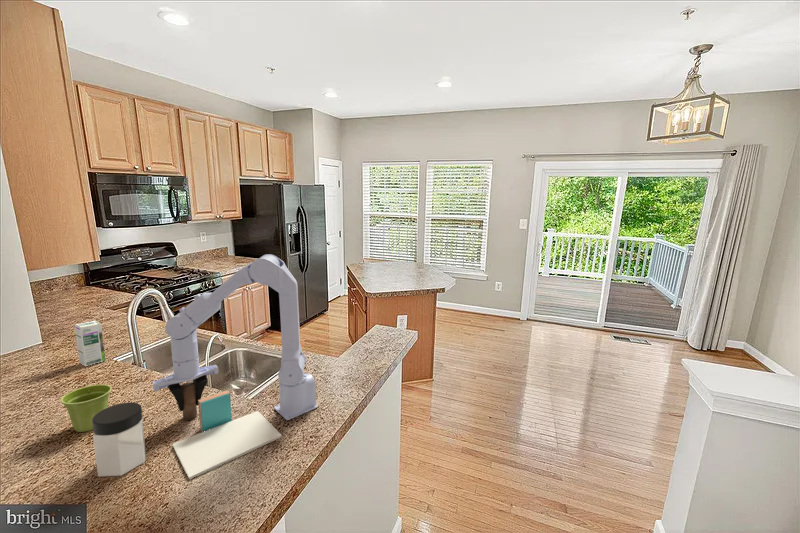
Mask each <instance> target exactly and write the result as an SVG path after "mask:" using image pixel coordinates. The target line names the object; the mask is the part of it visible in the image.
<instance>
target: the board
mask: <svg viewBox="0 0 800 533" xmlns="http://www.w3.org/2000/svg"><path fill="white" fill-rule="evenodd" d="M280 438H282V434H281V433H280V432H279V430H278V429H276V428H275V427H274V426H273V425H272V423H270V422H269V421H268V420H267V419H266V418H265V416H263V415H262V413H261V412H259V410H257V411H254V412H251V413H249V414H246V415H244V416H241V417H239V418H236V419H233V420H232V421H230V422H228V423H225V424H223V425H220V426H217V427H215V428H212V429H210V430H207V431H205V432H202V431H201V432H199V433H197V434H195V435H191V436H190V437H187V438H184V439H181V440H179V441H177V442H174V443H172V448H173V450H174V452H175V454H176V456H177V458H178V460H179V462H180V464H181V466H182V468H183V470H184V473H185V475H186V474H187V475H186V476H188V477H187V479H188V478H189V479H190V480H192V478H193V479H194V477H195V478H197V477H199V476H201V475H203V474H205V473H208V472H210V471H212V470H214V469H216V468H218V467H220V466H222V464H223V465H225V464H227V463H230V462H231V461H233V460H236V459H238V458H240V457H242V456H244V455H246V454H248V453H251V452H253V451H254V450H257V449H260V448H261V447H263V446H265V445H267V444H269V443H272V442H274V441H277V440H279V439H280ZM224 463H225V464H224ZM207 471H208V472H207ZM196 476H197V477H196ZM189 479H188V480H189Z"/></svg>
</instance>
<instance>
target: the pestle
mask: <svg viewBox="0 0 800 533" xmlns="http://www.w3.org/2000/svg"><path fill="white" fill-rule="evenodd" d="M180 385H181V388H182V401H183V407H184V410H183V411H182V418H183V420H184V421H190V420H193V419H195V418H196V417H198V410H197V409H198V408H197V405H196V393H195V383H194V382H193V381H188V382H183V384H180Z"/></svg>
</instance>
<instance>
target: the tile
mask: <svg viewBox="0 0 800 533" xmlns="http://www.w3.org/2000/svg"><path fill="white" fill-rule="evenodd" d="M197 406H198V415H199V416H198V417H199V430H200V429H201V430H200V431H201V432H202V431H203V432H204V431H207V430H209V429H212V428H215V427H217V426H220V425H223V424H225V423H228V422H230V421H233V420H232V402H231V392H230V391H229V390H225V391H222V392H219V393H215V394H213V395H209V396H205V397H202V398H201V399H200V400H198V405H197Z"/></svg>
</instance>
